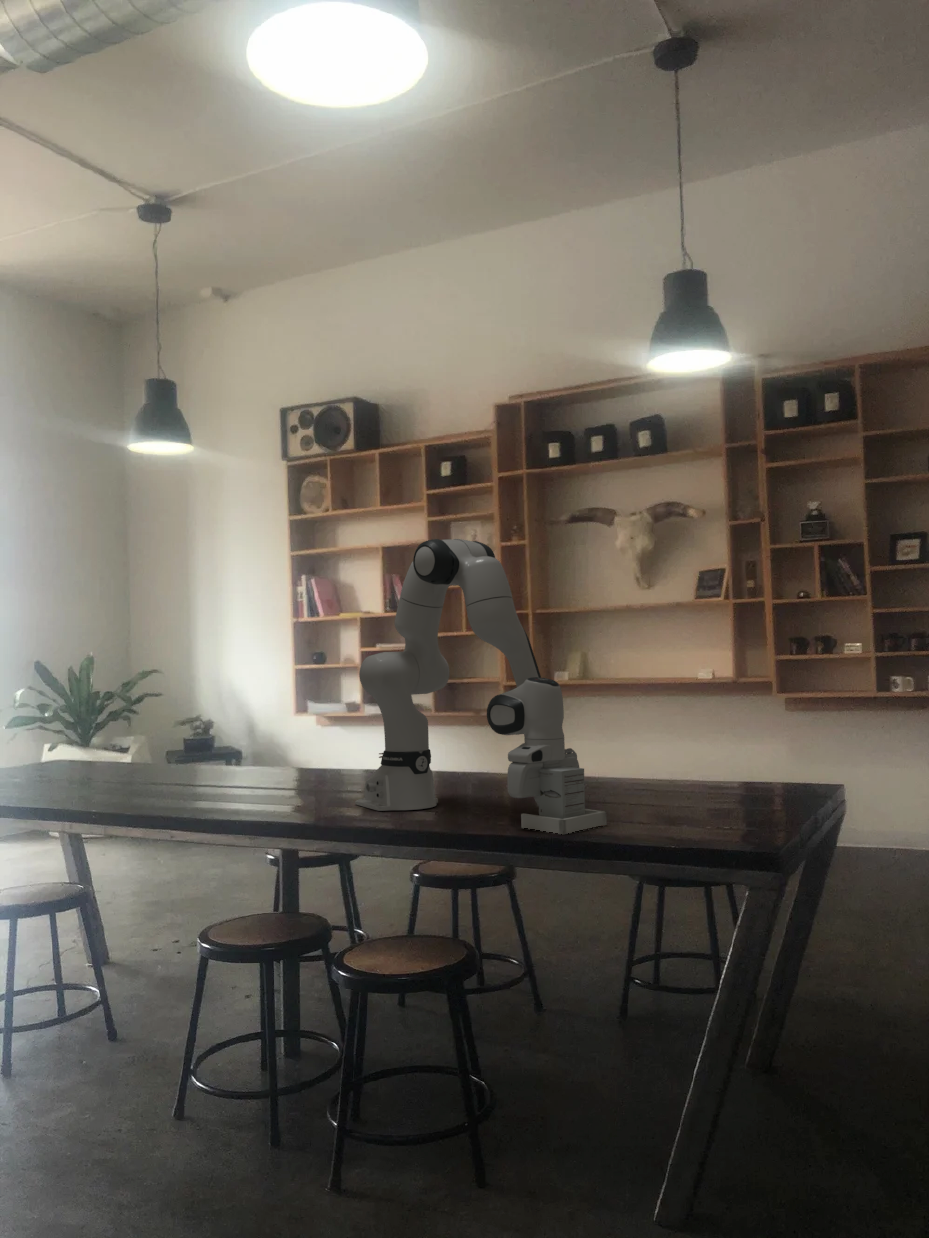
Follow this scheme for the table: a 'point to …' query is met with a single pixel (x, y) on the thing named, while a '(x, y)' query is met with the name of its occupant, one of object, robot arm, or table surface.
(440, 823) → the table surface
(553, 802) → the supplement box
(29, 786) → the table surface
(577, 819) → the bay
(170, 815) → the table surface
